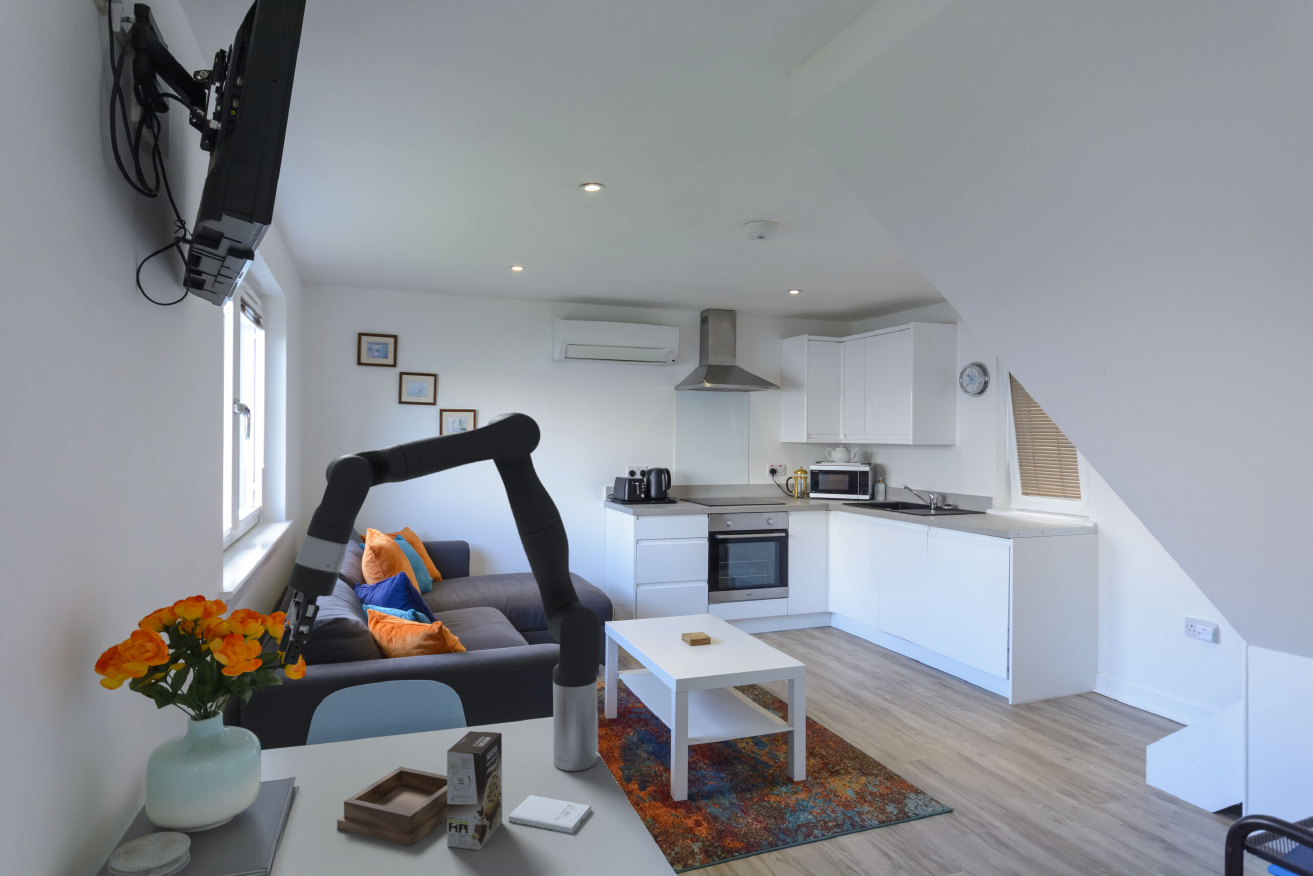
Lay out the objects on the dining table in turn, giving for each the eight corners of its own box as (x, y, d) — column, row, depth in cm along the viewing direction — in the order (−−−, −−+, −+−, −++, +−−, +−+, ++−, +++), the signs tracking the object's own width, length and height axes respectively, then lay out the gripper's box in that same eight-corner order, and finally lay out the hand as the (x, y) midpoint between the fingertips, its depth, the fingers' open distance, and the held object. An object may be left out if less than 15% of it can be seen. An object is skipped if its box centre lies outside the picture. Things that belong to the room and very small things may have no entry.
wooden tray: (400, 787, 143) (400, 764, 143) (468, 801, 138) (468, 777, 138) (337, 828, 129) (336, 802, 129) (410, 846, 123) (410, 819, 123)
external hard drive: (531, 802, 138) (591, 813, 134) (508, 824, 130) (571, 836, 126) (530, 794, 138) (591, 804, 134) (508, 815, 130) (571, 826, 126)
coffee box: (481, 851, 121) (480, 753, 121) (445, 847, 122) (445, 750, 122) (504, 822, 130) (503, 731, 130) (470, 819, 131) (469, 729, 131)
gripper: (347, 575, 124) (315, 672, 121) (334, 564, 136) (304, 651, 133) (300, 566, 120) (266, 665, 118) (291, 554, 132) (259, 644, 130)
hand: (286, 657), depth 125 cm, fingers open, 8 cm apart
